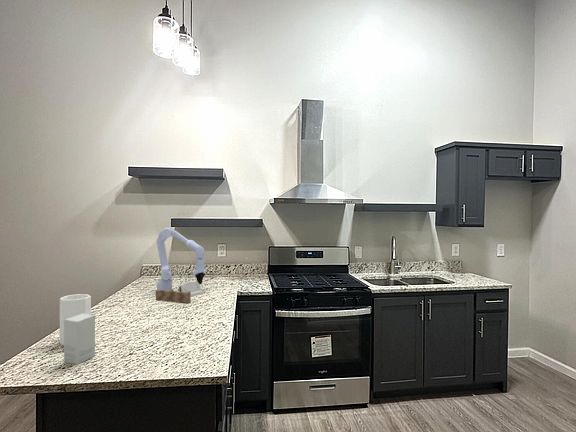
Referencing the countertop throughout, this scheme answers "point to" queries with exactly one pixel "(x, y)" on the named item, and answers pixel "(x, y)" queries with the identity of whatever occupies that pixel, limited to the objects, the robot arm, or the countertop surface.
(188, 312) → the countertop surface
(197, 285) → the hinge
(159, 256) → the robot arm
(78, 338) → the skincare box
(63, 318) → the cup
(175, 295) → the walnut bracket
